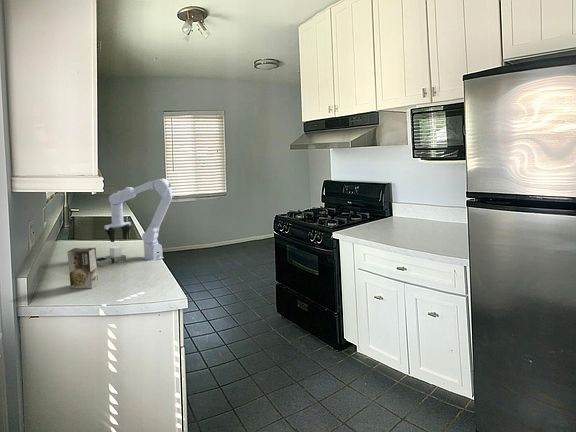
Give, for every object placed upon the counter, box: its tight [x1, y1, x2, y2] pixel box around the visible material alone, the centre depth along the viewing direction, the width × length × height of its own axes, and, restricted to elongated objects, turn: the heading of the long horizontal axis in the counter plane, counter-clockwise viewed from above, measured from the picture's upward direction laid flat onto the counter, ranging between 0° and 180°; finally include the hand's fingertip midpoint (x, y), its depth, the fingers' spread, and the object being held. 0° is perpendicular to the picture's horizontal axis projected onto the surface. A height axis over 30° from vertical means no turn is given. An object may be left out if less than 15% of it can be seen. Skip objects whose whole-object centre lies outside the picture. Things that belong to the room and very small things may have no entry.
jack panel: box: [96, 254, 127, 268], centre depth 200 cm, size 9×16×3 cm, turn 148°
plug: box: [109, 245, 123, 258], centre depth 203 cm, size 5×4×7 cm
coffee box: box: [66, 247, 99, 289], centre depth 164 cm, size 9×6×16 cm
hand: (118, 240), depth 208 cm, fingers open, 7 cm apart
